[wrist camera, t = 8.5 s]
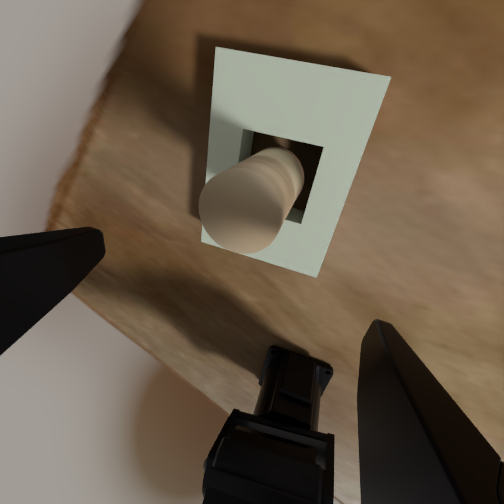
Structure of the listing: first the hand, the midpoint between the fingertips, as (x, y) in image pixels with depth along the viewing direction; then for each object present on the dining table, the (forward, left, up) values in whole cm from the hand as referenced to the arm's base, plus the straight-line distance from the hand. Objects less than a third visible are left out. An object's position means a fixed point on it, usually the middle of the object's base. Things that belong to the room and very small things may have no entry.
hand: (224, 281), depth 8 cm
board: (+1, +1, -12) cm, 12 cm away
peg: (+1, +1, -12) cm, 12 cm away
